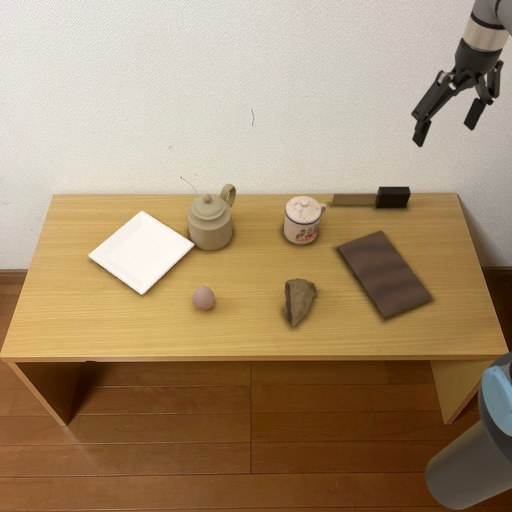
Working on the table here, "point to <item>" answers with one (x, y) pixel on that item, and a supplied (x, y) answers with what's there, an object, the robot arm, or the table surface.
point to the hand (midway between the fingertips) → (443, 134)
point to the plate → (141, 251)
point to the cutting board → (383, 274)
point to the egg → (203, 298)
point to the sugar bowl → (211, 219)
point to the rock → (298, 298)
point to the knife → (376, 198)
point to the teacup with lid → (302, 219)
